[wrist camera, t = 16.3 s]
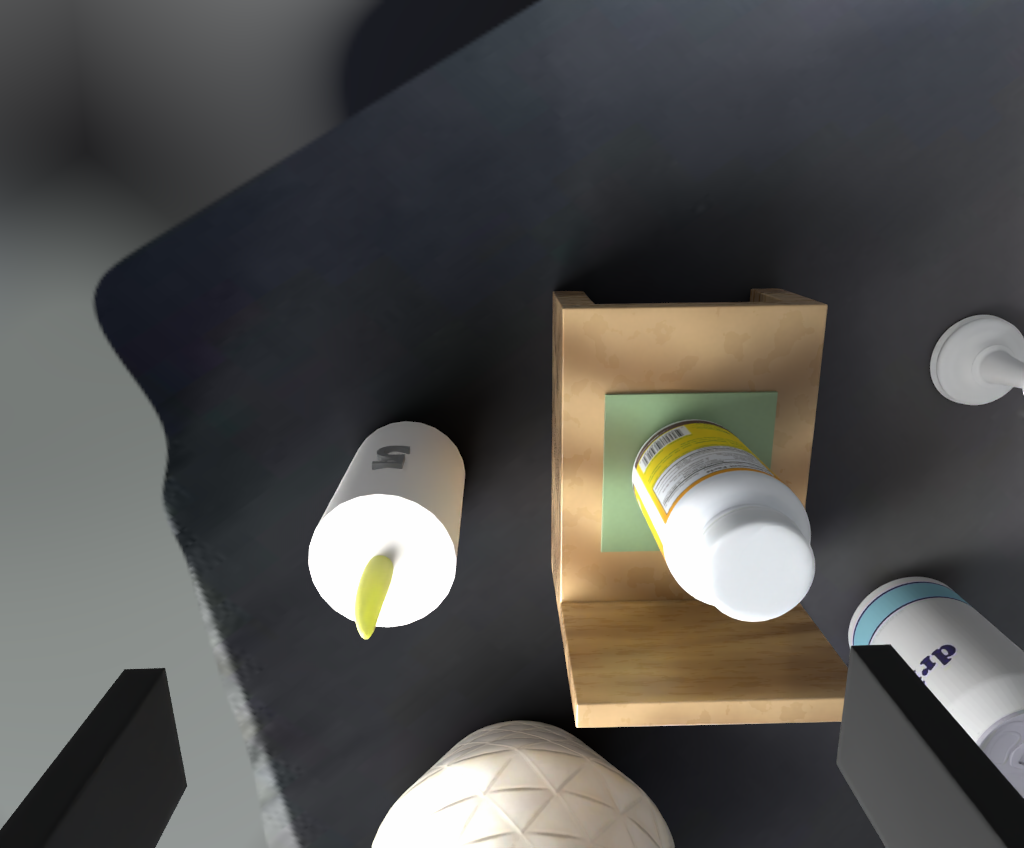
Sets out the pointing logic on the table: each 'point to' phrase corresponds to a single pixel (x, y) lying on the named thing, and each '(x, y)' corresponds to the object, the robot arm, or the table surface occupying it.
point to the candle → (391, 528)
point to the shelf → (626, 534)
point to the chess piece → (978, 360)
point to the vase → (523, 797)
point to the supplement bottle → (724, 521)
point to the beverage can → (953, 662)
